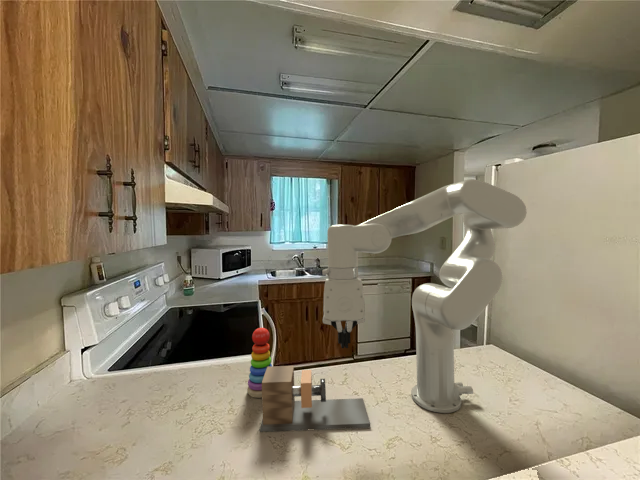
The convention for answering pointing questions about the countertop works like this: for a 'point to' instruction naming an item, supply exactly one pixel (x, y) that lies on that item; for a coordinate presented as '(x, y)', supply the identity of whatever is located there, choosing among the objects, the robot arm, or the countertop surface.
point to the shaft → (316, 390)
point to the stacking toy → (259, 362)
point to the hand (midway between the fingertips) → (344, 345)
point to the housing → (290, 415)
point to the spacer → (306, 389)
